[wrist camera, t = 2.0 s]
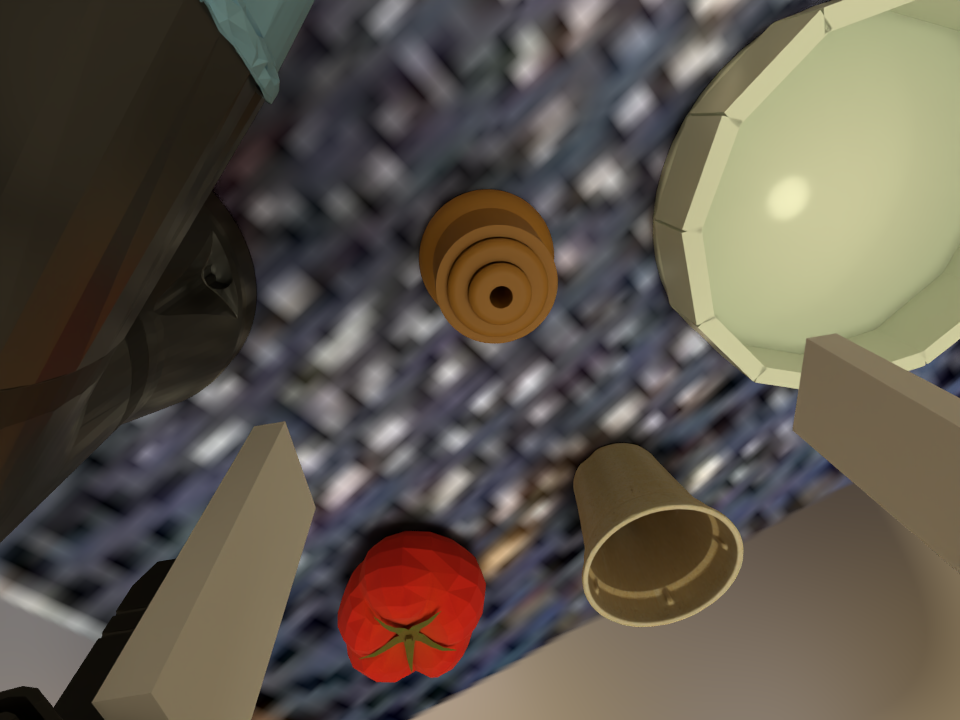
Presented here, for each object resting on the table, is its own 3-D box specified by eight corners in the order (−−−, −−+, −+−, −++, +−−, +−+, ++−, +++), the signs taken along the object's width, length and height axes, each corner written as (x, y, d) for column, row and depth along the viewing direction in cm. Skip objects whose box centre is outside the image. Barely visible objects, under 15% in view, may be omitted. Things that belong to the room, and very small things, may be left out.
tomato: (494, 528, 39) (506, 602, 33) (453, 627, 43) (456, 709, 37) (365, 504, 37) (352, 577, 31) (335, 610, 41) (318, 693, 35)
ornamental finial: (496, 157, 28) (573, 263, 30) (392, 245, 29) (474, 339, 32) (518, 169, 20) (617, 307, 23) (378, 286, 22) (486, 402, 25)
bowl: (582, 221, 29) (606, 237, 25) (887, -113, 24) (980, -161, 20) (777, 410, 36) (821, 447, 32) (1050, 182, 31) (1145, 192, 26)
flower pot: (655, 398, 35) (719, 479, 27) (695, 494, 39) (761, 588, 31) (530, 457, 36) (556, 550, 28) (581, 544, 40) (617, 647, 32)
